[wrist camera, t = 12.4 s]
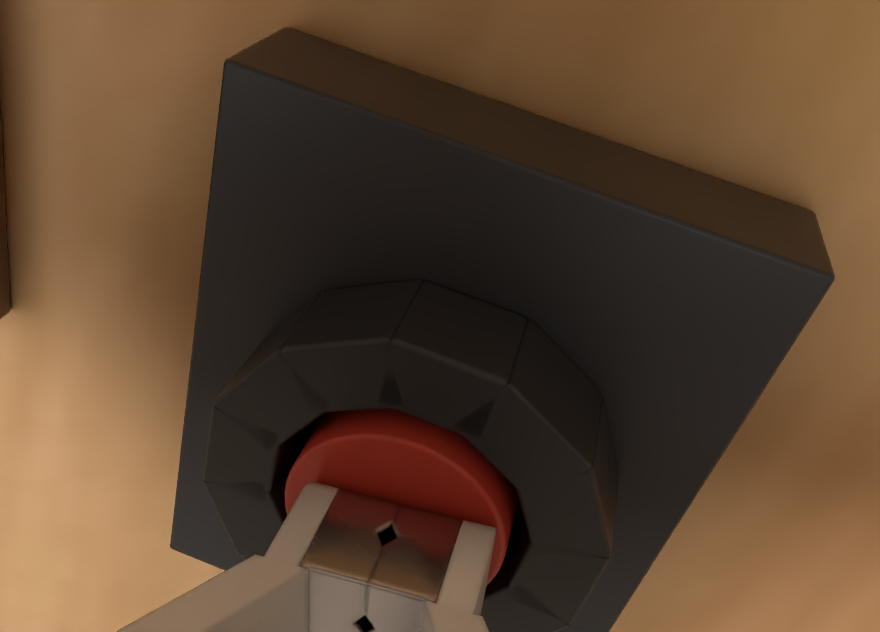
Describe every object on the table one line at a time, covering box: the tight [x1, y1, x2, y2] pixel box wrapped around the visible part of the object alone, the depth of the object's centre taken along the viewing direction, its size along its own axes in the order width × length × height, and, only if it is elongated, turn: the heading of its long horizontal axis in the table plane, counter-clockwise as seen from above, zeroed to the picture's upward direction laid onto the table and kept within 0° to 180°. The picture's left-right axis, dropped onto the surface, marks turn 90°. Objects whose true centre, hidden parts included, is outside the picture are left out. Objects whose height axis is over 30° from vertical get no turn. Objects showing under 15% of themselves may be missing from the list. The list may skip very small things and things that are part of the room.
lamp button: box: [285, 409, 519, 586], centre depth 14 cm, size 4×4×2 cm
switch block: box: [170, 27, 835, 632], centre depth 15 cm, size 11×9×4 cm
